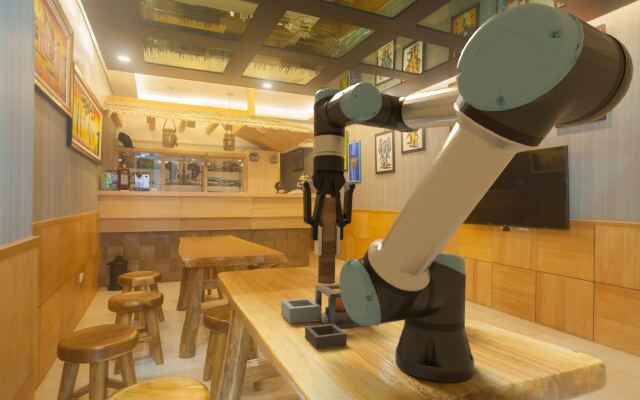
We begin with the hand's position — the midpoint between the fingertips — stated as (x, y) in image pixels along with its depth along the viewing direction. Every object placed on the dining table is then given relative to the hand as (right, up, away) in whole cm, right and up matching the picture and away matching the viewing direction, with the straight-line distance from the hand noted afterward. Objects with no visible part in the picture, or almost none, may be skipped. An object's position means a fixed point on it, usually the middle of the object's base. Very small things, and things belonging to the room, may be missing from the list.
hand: (327, 254), depth 84 cm
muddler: (0, -7, 0) cm, 7 cm away
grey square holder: (-7, -21, +17) cm, 28 cm away
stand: (0, -20, 0) cm, 20 cm away
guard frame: (+4, -21, +15) cm, 26 cm away
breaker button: (+4, -18, +15) cm, 24 cm away
